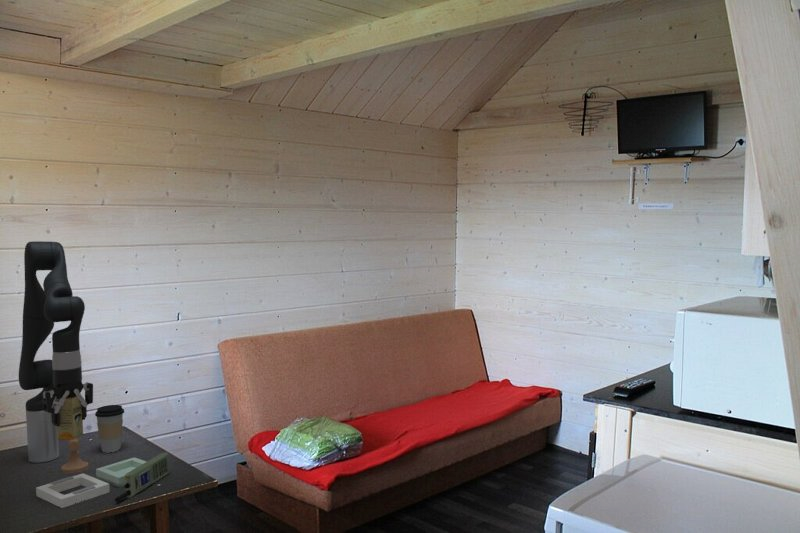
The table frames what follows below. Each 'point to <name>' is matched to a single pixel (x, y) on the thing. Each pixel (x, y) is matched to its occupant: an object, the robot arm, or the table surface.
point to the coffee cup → (110, 427)
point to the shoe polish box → (70, 419)
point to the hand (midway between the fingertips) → (69, 422)
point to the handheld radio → (145, 475)
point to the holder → (53, 496)
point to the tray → (117, 471)
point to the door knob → (74, 459)
